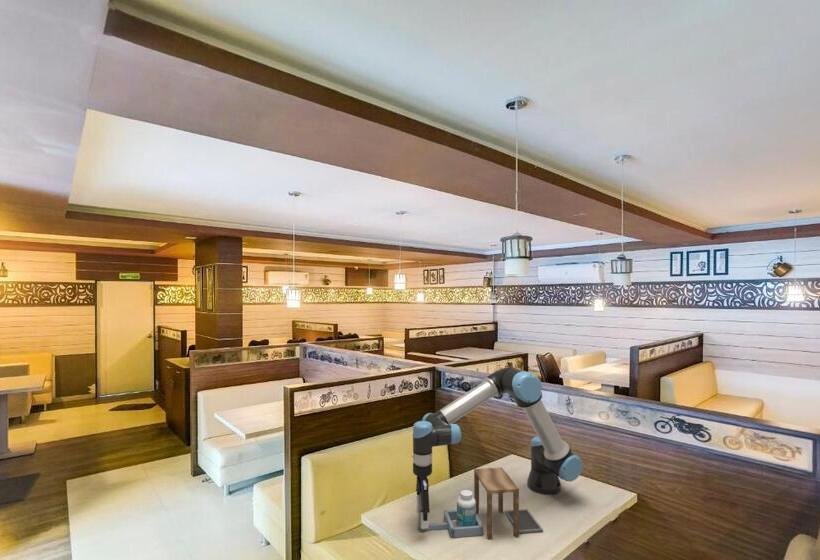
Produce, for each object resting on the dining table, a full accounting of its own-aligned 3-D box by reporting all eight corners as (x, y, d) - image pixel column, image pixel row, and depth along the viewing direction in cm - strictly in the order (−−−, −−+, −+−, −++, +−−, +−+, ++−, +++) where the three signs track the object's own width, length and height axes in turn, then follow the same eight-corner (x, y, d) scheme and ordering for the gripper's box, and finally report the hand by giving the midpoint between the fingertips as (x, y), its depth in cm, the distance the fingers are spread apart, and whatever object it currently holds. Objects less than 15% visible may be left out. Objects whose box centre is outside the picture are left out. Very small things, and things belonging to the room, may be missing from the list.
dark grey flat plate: (527, 511, 176) (527, 509, 176) (543, 532, 161) (543, 529, 161) (504, 513, 175) (504, 510, 175) (518, 534, 160) (518, 531, 160)
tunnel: (501, 510, 177) (501, 467, 177) (518, 537, 158) (518, 488, 158) (474, 512, 175) (474, 469, 176) (488, 539, 157) (488, 490, 157)
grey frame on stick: (473, 515, 173) (473, 484, 173) (483, 535, 159) (483, 500, 159) (415, 520, 169) (416, 487, 170) (421, 539, 156) (421, 504, 156)
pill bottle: (454, 522, 168) (454, 488, 168) (472, 520, 169) (472, 487, 169) (460, 533, 161) (460, 498, 161) (478, 531, 162) (478, 496, 162)
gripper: (409, 451, 174) (409, 505, 174) (417, 476, 152) (417, 538, 151) (427, 450, 175) (427, 504, 175) (437, 475, 153) (437, 536, 152)
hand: (422, 520), depth 163 cm, fingers open, 10 cm apart
